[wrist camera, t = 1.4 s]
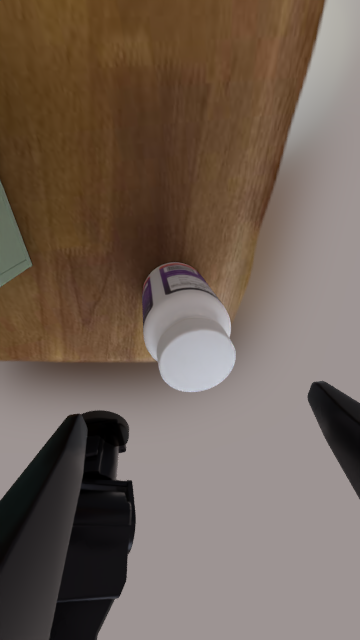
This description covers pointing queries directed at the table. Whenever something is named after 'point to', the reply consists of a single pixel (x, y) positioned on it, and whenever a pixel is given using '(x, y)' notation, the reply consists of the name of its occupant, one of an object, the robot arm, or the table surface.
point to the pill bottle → (186, 328)
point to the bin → (10, 243)
